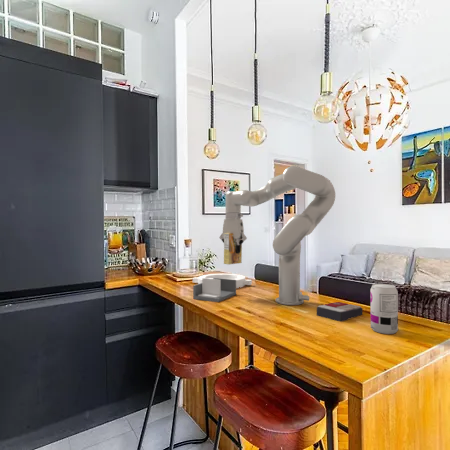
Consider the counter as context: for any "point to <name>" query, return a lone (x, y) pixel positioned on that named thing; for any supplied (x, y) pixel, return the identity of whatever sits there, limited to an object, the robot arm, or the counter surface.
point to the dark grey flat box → (339, 311)
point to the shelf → (214, 289)
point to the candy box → (231, 250)
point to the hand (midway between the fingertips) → (232, 252)
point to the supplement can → (384, 308)
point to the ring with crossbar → (239, 278)
